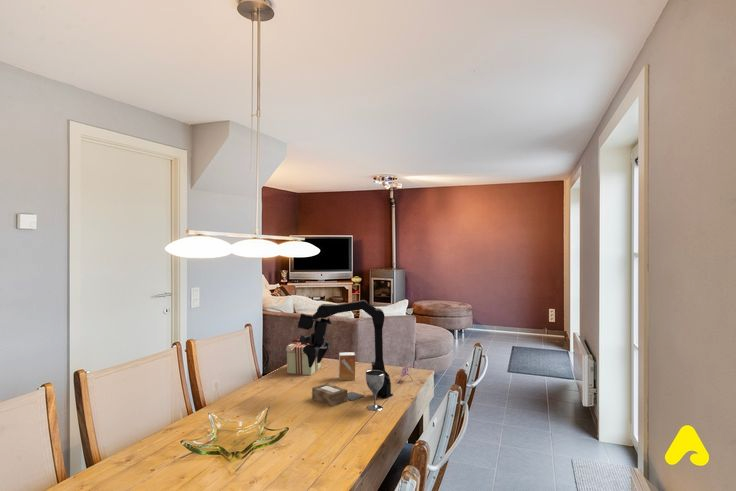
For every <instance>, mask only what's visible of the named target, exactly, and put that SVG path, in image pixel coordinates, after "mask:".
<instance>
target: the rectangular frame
mask: <svg viewBox="0 0 736 491" xmlns="http://www.w3.org/2000/svg"><path fill="white" fill-rule="evenodd" d="M324 386H329V387H332V388H335V389H338V390H340V391H339V392H336V393H332V392H329V391H326V390H323V389H320V388H321V387H324ZM311 390H312V391H311V392H312V393H311V399H312V400H314V401H317V402H318V403H322V404H325V405H327V406H329V407H335V406H339V405H340V404H341V405H342V404H344V403H346V402H348V399H347V393H348V389H346V388H343V387H340V386H337V385H334V384H331V383H324V384H320V385H318V386H314V387H312V388H311Z"/></svg>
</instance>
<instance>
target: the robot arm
mask: <svg viewBox="0 0 736 491" xmlns="http://www.w3.org/2000/svg"><path fill="white" fill-rule="evenodd" d="M360 310H363V312H365V313H366V314H368V316H370V317H371V318H372V323H373V328H374V330H373V331H374V361H371V362H370V363H371V370H380V371H383V372H384V383H383V386H382V388H381V389H380V390H379V391H378V393H377V395H376V397H378V398H382V399H388V398H389V397H392V396H394V394H393V393H392V383H391V377H390V373H388V372H387V371H386V368H385V363H384V354H383V353H384V352H383V351H384V349H383V348H384V347H383V346H384V345H383V344H384V343H383V342H384V341H383V330H384V323H385V313H384V311H383V310H382V309H381V308H378V307H375V306H374V305H372V304H370V303H369V302H368V301H367V300H365V299H361V300H357V301H351V302H350V301H349V302H344V303H339V304H334V303H322V304H320V305H319V306H318V307H317V309H316V312H315V313H313V315H311V314H307V313H306V314H305V313H301V314H300V317H299V320H298V322H297V329H301V330H308V331H311V329H313V332H311V334H310V335H305V334H304V335H300V337H299V339H298V340H299V341H300V342H301V344H306V343H309V344H310V345H306V346H304V347H303V352H304V353H305V354H306V355H307V357H308V364H309V367H310V368H311V367H312V365H313V363H314V361H315V359H316V358H317V363H320V362H321V361H322V360H323V359H324V357H325V356H326V354H327V352H328V351H329V350H330V348H331V341H329V340H326V338H327V337H328V334H327V329H328V324H329V325H332V324H333V321H332V320H331V319H330V317H332V316H334V315H337V314H340V313H341V314H342V313H347V312H352V311H360ZM321 363H322V362H321Z"/></svg>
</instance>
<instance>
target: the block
mask: <svg viewBox="0 0 736 491" xmlns="http://www.w3.org/2000/svg"><path fill="white" fill-rule="evenodd" d="M320 389H323V390H326V391H329V392H332V393H336V392H339V391H340V390H338V389H335V388H332V387H329V386H324V387H321V388H320Z"/></svg>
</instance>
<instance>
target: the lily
mask: <svg viewBox="0 0 736 491" xmlns="http://www.w3.org/2000/svg"><path fill="white" fill-rule="evenodd" d="M410 365H411V361H409V362H408V364H407V365H406V366H402V368H401V371H400V373H401V374H400V375H399V377H398V379H397V382H396V383H399V381H400V380H401V379H402V377H407V376H409V377H410V378H411V381H414V380H413V378H412V377H411V375H410V373H409V366H410Z"/></svg>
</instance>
